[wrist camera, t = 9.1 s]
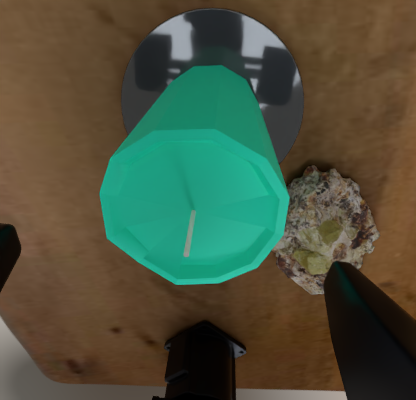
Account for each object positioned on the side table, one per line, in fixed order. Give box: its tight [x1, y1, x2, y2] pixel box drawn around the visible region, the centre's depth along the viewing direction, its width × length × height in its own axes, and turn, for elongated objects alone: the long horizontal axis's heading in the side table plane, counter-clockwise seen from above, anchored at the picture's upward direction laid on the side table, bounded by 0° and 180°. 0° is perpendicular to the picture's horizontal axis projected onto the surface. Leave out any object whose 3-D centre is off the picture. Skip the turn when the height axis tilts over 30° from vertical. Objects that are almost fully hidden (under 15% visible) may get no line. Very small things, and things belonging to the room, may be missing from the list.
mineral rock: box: [271, 165, 380, 294], centre depth 21 cm, size 11×4×8 cm
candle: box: [99, 65, 290, 285], centre depth 13 cm, size 6×6×12 cm
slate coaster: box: [121, 8, 304, 164], centre depth 18 cm, size 11×11×1 cm
